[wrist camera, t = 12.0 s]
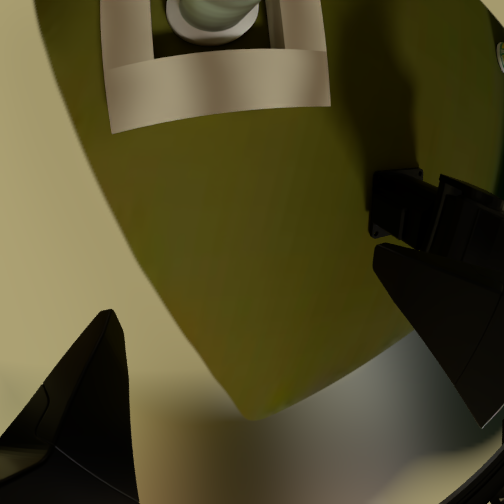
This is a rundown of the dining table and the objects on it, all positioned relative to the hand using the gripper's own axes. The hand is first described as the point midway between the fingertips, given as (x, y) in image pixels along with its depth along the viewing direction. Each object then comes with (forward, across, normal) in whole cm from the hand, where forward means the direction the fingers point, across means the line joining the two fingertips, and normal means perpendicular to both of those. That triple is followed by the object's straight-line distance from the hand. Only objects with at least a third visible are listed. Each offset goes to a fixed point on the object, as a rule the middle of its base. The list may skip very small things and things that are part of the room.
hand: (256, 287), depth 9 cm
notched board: (+13, -2, -10) cm, 17 cm away
